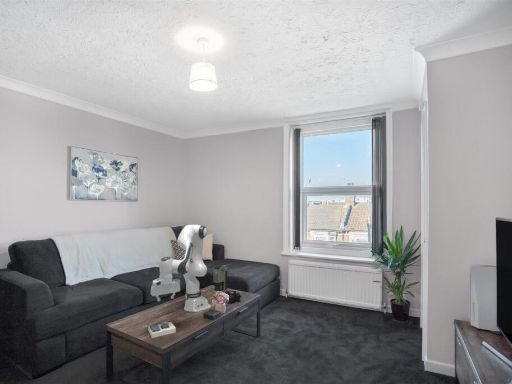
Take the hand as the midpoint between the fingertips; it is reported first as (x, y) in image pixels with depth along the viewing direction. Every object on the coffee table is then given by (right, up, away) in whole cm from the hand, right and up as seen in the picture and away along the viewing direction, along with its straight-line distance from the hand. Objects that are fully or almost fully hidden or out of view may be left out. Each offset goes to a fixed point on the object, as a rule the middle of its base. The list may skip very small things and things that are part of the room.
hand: (165, 299), depth 207 cm
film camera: (+42, -24, +58) cm, 76 cm away
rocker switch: (0, -21, -2) cm, 22 cm away
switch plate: (-1, -21, -4) cm, 22 cm away
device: (+30, -24, +75) cm, 84 cm away
